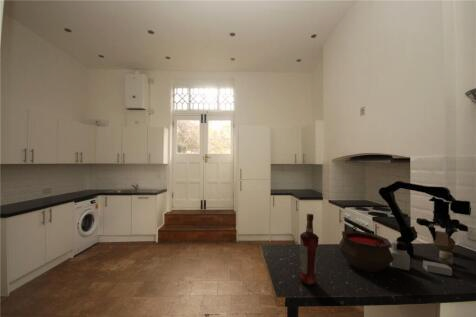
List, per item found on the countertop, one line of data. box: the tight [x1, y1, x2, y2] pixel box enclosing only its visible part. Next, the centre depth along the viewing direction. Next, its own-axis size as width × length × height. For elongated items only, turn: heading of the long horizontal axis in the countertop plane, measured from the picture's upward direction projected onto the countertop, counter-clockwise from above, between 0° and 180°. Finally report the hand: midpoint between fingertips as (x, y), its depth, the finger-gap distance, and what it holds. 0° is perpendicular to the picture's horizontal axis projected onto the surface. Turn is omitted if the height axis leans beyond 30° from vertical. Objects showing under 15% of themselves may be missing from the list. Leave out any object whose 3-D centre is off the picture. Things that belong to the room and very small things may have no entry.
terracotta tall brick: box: [432, 230, 448, 246], centre depth 108 cm, size 4×4×6 cm
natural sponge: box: [433, 236, 456, 253], centre depth 125 cm, size 9×9×10 cm
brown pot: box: [339, 225, 394, 273], centre depth 103 cm, size 24×24×16 cm
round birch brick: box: [438, 250, 454, 266], centre depth 110 cm, size 5×5×5 cm
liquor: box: [298, 213, 320, 286], centre depth 87 cm, size 7×7×28 cm
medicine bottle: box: [389, 239, 411, 271], centre depth 104 cm, size 7×7×12 cm
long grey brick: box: [422, 260, 453, 277], centre depth 100 cm, size 9×4×4 cm, turn 68°
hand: (440, 240), depth 108 cm, fingers closed on terracotta tall brick, 4 cm apart
